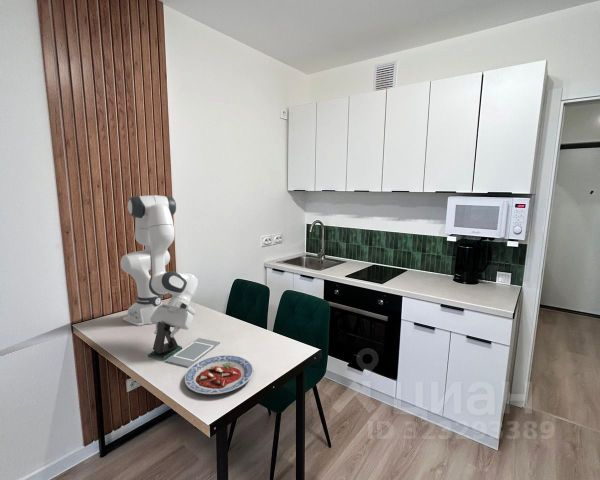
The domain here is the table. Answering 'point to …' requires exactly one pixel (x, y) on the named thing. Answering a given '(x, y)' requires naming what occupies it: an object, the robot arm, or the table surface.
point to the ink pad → (164, 355)
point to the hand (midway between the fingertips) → (163, 335)
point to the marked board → (192, 352)
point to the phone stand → (163, 339)
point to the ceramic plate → (218, 374)
